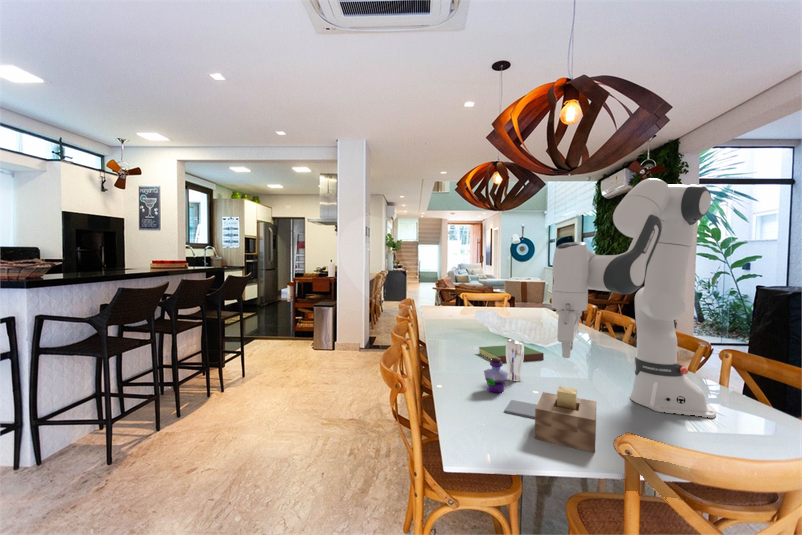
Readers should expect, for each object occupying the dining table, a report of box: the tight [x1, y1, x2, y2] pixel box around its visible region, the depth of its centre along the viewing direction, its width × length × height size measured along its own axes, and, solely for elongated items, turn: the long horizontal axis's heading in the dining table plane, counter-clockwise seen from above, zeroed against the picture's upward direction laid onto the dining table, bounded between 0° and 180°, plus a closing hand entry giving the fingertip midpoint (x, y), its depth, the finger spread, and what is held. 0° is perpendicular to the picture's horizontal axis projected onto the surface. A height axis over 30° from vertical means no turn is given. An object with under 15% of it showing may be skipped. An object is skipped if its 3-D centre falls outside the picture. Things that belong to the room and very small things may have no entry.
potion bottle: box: [483, 358, 508, 394], centre depth 131 cm, size 9×9×12 cm
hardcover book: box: [478, 345, 545, 364], centre depth 179 cm, size 25×19×4 cm
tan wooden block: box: [556, 385, 578, 411], centre depth 99 cm, size 4×4×8 cm
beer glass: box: [505, 339, 525, 382], centre depth 144 cm, size 7×7×15 cm
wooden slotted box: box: [534, 391, 598, 453], centre depth 99 cm, size 14×14×8 cm
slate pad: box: [503, 399, 538, 420], centre depth 115 cm, size 10×10×1 cm
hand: (567, 353), depth 98 cm, fingers open, 8 cm apart
